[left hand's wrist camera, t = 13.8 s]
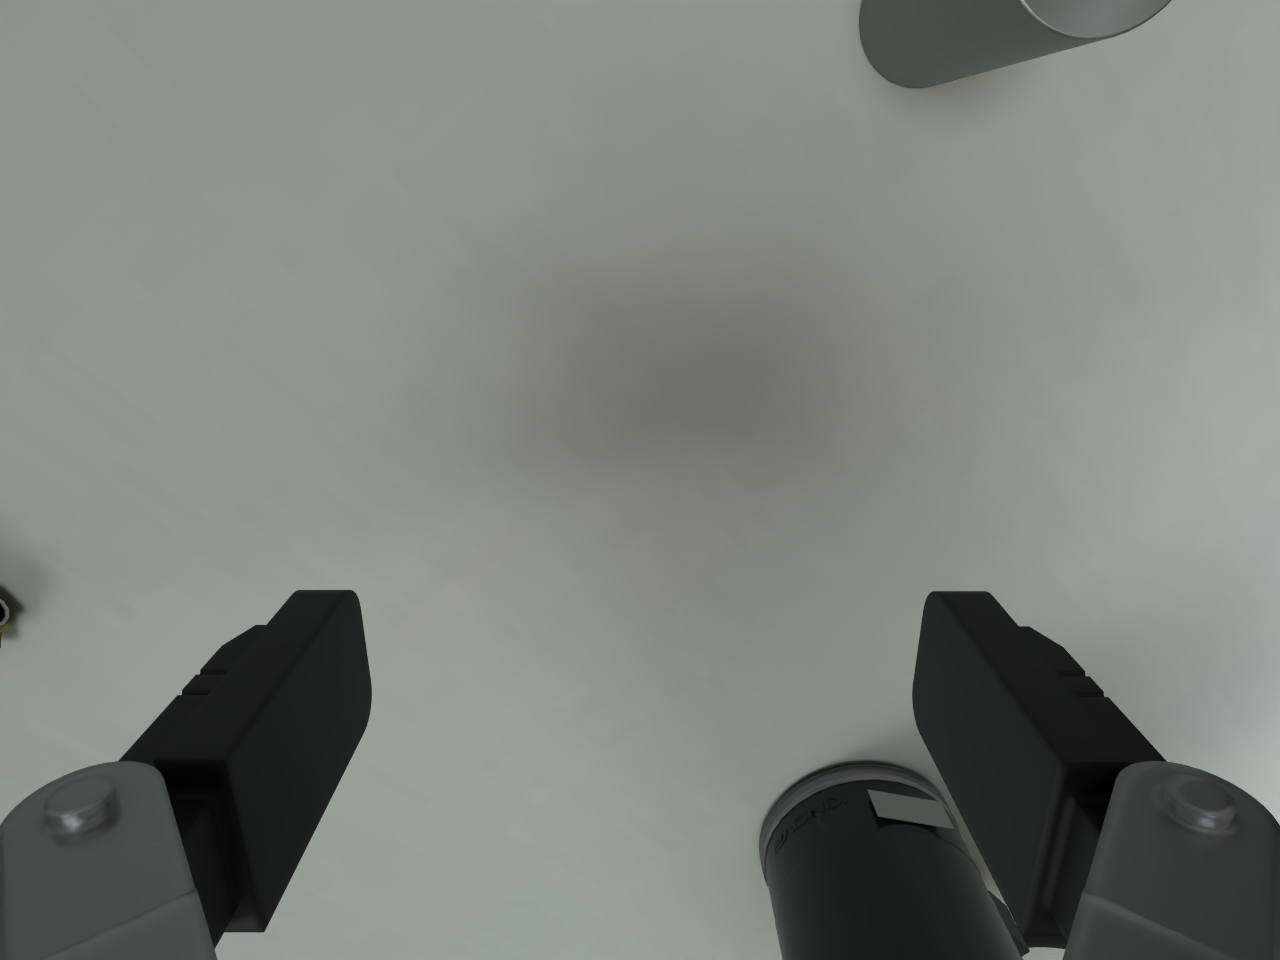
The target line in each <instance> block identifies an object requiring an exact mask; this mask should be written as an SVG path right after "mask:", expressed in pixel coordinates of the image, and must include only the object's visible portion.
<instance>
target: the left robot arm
mask: <svg viewBox="0 0 1280 960" xmlns="http://www.w3.org/2000/svg"><path fill="white" fill-rule="evenodd" d="M200 671H201V672H200V675H195V676H194V678H193V679H192V680H191V681H190V682H189V683H188V684H187V685H186V686H185V688H184V689H183V690H182V695H177V696H176V698H175V699H174V700H173V701H172V702H171V703H170V704H169V705H168V706H167V708H166V709H165V710H164V711H163V712H162V713H161V714H160V715H159V716H158V718H157V719H156V720H155V721H154V722H153V723H152V724H151V725H150V726H149V728H148V729H147V730H146V731H145V732H144V733H143V734H142V735H141V736H140V738H139V739H138V740H137V741H136V742H135V743H134V744H133V745H132V746H131V748H130V749H129V750H128V751H127V752H126V753H125V754H124V755H123V757H122V758H121V759H120V760H119V761H116V762H109V763H103V764H98V765H94V766H90V767H87V768H83V769H80V770H77V771H75V772H72V773H70V774H67V775H64V776H62V777H60V778H58V779H56V780H54V781H52V782H50V783H48V784H47V785H45V786H43V787H41V788H40V789H38V790H37V791H35V792H34V793H32V794H31V795H29V796H28V797H26V798H25V799H24V800H23V801H22V802H21V803H19V804H18V805H17V806H16V807H15V808H14V809H13V810H12V811H11V812H10V813H9V814H8V815H7V817H6V818H5V819H4V821H3V822H2V824H1V825H0V960H217V957H216V953H215V950H214V949H215V947H216V946H217V944H218V942H219V940H220V938H221V937H222V935H223V933H224V932H264V931H265V929H266V927H267V925H268V923H269V921H270V919H271V917H272V915H273V913H274V911H275V909H276V907H277V905H278V903H279V901H280V899H281V897H282V895H283V893H284V891H285V889H286V887H287V885H288V883H289V881H290V879H291V877H292V875H293V873H294V871H295V869H296V867H297V865H298V863H299V861H300V859H301V857H302V855H303V853H304V851H305V849H306V847H307V845H308V843H309V841H310V839H311V837H312V835H313V833H314V831H315V829H316V827H317V825H318V823H319V821H320V819H321V817H322V815H323V813H324V811H325V809H326V807H327V805H328V803H329V801H330V799H331V797H332V795H333V793H334V791H335V789H336V787H337V785H338V783H339V781H340V779H341V777H342V775H343V773H344V772H345V770H346V768H347V766H348V764H349V762H350V760H351V758H352V756H353V754H354V752H355V750H356V748H357V746H358V744H359V742H360V740H361V738H362V736H363V734H364V731H365V729H366V726H367V723H368V720H369V715H370V709H371V700H372V687H371V678H370V671H369V664H368V657H367V650H366V643H365V635H364V628H363V621H362V614H361V607H360V602H359V599H358V597H357V595H356V593H355V592H354V591H352V590H297V591H296V592H294V593H293V594H292V595H291V596H290V598H289V599H288V600H287V601H286V602H285V604H284V605H283V606H282V607H281V608H280V610H279V611H278V612H277V613H276V614H275V615H274V617H273V618H272V619H271V620H270V621H269V623H268V624H267V625H255V626H253V627H252V628H250V629H249V630H247V631H245V632H244V633H242V634H240V635H239V636H237V637H236V638H234V639H232V640H231V641H229V642H227V643H226V644H224V645H222V646H221V648H220V649H219V650H218V651H217V652H216V653H215V654H214V655H213V656H212V658H211V659H210V660H209V661H208V662H207V663H206V664H205V665H204V666H203V668H202V669H201V670H200ZM912 699H913V710H914V716H915V721H916V724H917V727H918V730H919V733H920V735H921V737H922V739H923V741H924V743H925V745H926V747H927V749H928V751H929V752H930V754H931V756H932V758H933V760H934V762H935V764H936V766H937V768H938V770H939V772H940V774H941V776H942V778H943V780H944V782H945V784H946V786H947V788H948V790H949V792H950V794H951V796H952V798H953V800H954V802H955V804H956V806H957V808H958V810H959V812H960V814H961V816H962V818H963V820H964V822H965V824H966V826H967V828H968V829H969V831H970V833H971V835H972V837H973V839H974V841H975V843H976V845H977V847H978V849H979V851H980V853H981V855H982V857H983V859H984V861H985V863H986V865H987V867H988V869H989V871H990V873H991V875H992V877H993V879H994V881H995V883H996V885H997V887H998V889H999V891H1000V893H1001V895H1002V897H1003V899H1004V901H1005V903H1006V905H1007V906H1008V908H1009V910H1010V912H1011V914H1012V916H1013V918H1014V920H1015V922H1016V924H1017V926H1018V927H1017V926H1016V924H1015V922H1014V920H1013V918H1012V916H1011V914H1010V912H1009V910H1008V908H1007V906H1005V905H1004V904H1003V903H1002V902H1001V901H1000V900H999V899H998V898H996V897H995V896H994V895H993V894H992V893H991V892H990V891H989V890H987V888H986V886H985V884H984V882H983V880H982V878H981V875H980V873H979V871H978V869H977V867H976V865H975V863H974V861H973V859H972V857H971V855H970V853H969V851H968V849H967V847H966V845H965V843H964V841H963V839H962V837H961V835H960V833H959V829H958V826H957V823H956V821H955V819H954V817H953V815H952V813H951V811H950V809H949V807H948V805H947V803H946V801H945V800H944V798H943V797H942V795H941V794H940V793H939V792H938V791H937V790H936V789H935V788H934V787H933V786H932V785H931V784H930V783H928V782H927V781H926V780H924V779H923V778H921V777H919V776H917V775H916V774H914V773H911V772H909V771H906V770H904V769H900V768H897V767H892V766H887V765H880V764H855V765H847V766H842V767H837V768H834V769H830V770H827V771H824V772H822V773H819V774H817V775H814V776H812V777H810V778H808V779H806V780H805V781H803V782H801V783H800V784H798V785H797V786H795V787H794V788H792V789H791V790H790V791H789V792H787V793H786V794H785V795H784V796H783V797H782V798H781V799H780V800H779V801H778V802H777V804H776V805H775V806H774V807H773V809H772V810H771V812H770V813H769V815H768V817H767V819H766V820H765V823H764V825H763V828H762V831H761V835H760V842H759V852H760V859H761V864H762V869H763V874H764V878H765V881H766V883H767V886H768V888H769V893H770V898H771V903H772V908H773V913H774V918H775V924H776V929H777V934H778V939H779V944H780V949H781V954H782V959H783V960H1023V959H1022V956H1023V955H1025V954H1027V953H1028V952H1029V949H1028V948H1030V947H1051V948H1062V949H1066V950H1065V953H1064V957H1063V960H1280V825H1279V824H1278V822H1277V821H1276V819H1275V818H1274V817H1273V815H1272V814H1271V813H1270V812H1269V811H1268V810H1267V809H1266V808H1265V807H1264V806H1263V805H1262V804H1261V803H1259V802H1258V801H1257V800H1256V799H1255V798H1254V797H1252V796H1251V795H1249V794H1248V793H1246V792H1245V791H1243V790H1242V789H1240V788H1239V787H1237V786H1235V785H1233V784H1232V783H1230V782H1228V781H1226V780H1224V779H1222V778H1220V777H1218V776H1216V775H1213V774H1210V773H1208V772H1205V771H1203V770H1200V769H1197V768H1193V767H1190V766H1186V765H1182V764H1177V763H1171V762H1167V761H1166V760H1165V759H1164V758H1163V757H1162V756H1161V755H1160V754H1159V752H1158V751H1157V750H1156V749H1155V748H1154V747H1153V746H1152V745H1151V744H1150V743H1149V741H1148V740H1147V739H1146V738H1145V737H1144V736H1143V735H1142V734H1141V733H1140V731H1139V730H1138V729H1137V728H1136V727H1135V726H1134V725H1133V724H1132V723H1131V722H1130V720H1129V719H1128V718H1127V717H1126V716H1125V715H1124V714H1123V713H1122V712H1121V711H1120V709H1119V708H1118V707H1117V706H1116V705H1115V704H1114V703H1113V702H1112V701H1111V700H1110V698H1109V697H1104V692H1103V691H1102V690H1101V689H1100V687H1099V686H1098V685H1097V684H1096V683H1095V682H1094V681H1093V680H1092V679H1091V677H1090V676H1085V671H1084V670H1083V669H1082V668H1081V666H1080V665H1079V664H1078V663H1077V662H1076V661H1075V660H1074V659H1073V658H1072V657H1071V655H1070V654H1069V653H1068V652H1067V651H1066V650H1065V649H1064V648H1063V647H1062V646H1060V645H1059V644H1057V643H1055V642H1054V641H1052V640H1050V639H1049V638H1047V637H1045V636H1044V635H1042V634H1041V633H1039V632H1037V631H1036V630H1034V629H1032V628H1031V627H1019V626H1018V625H1017V624H1016V623H1015V622H1014V620H1013V619H1012V618H1011V617H1010V616H1009V615H1008V613H1007V612H1006V611H1005V610H1004V609H1003V607H1002V606H1001V605H1000V604H999V603H998V602H997V600H996V599H995V598H994V597H993V596H992V595H991V594H990V593H989V592H986V591H933V592H931V593H930V594H929V595H928V597H927V599H926V601H925V605H924V610H923V617H922V624H921V631H920V638H919V645H918V652H917V659H916V667H915V674H914V681H913V691H912ZM1018 928H1019V929H1018ZM1019 930H1020V931H1019Z"/></svg>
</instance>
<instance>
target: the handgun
mask: <svg viewBox="0 0 1280 960" xmlns="http://www.w3.org/2000/svg"><path fill="white" fill-rule="evenodd" d="M8 619H9V608H8V607H7V605H6V604H5V602H4V601H3V600H1V599H0V648H1V634H2V631H4V630H5V629H7V628H8V627H9V626H10V625H11V623H10V621H9V620H8Z"/></svg>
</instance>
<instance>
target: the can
mask: <svg viewBox="0 0 1280 960" xmlns="http://www.w3.org/2000/svg"><path fill="white" fill-rule="evenodd" d="M1170 1H1171V0H863V1H862V4H861V10H860V23H859V26H860V36H861V41H862V45H863V48H864V51H865V53H866V55H867V57H868V59H869V61H870V62H871V64H872V65H873V67H874V68H875V69H876V70H877V71H878V72H879V73H880V74H881V75H882V76H883V77H884V78H886V79H887V80H889V81H891V82H892V83H895V84H897V85H900V86H904V87H908V88H925V87H930V86H934V85H938V84H942V83H946V82H949V81H953V80H957V79H960V78H964V77H968V76H971V75H975V74H979V73H982V72H986V71H990V70H993V69H997V68H1001V67H1005V66H1008V65H1012V64H1016V63H1019V62H1023V61H1027V60H1030V59H1034V58H1038V57H1041V56H1045V55H1049V54H1052V53H1056V52H1060V51H1064V50H1067V49H1071V48H1075V47H1078V46H1082V45H1086V44H1089V43H1093V42H1097V41H1100V40H1104V39H1108V38H1111V37H1115V36H1118V35H1120V34H1123V33H1126V32H1128V31H1130V30H1132V29H1134V28H1136V27H1138V26H1140V25H1142V24H1143V23H1145V22H1146V21H1148V20H1149V19H1151V18H1152V17H1154V16H1155V15H1156V14H1157V13H1159V12H1160V11H1161V10H1162V9H1163V8H1165V7H1166V5H1167V4H1168V3H1169V2H1170Z"/></svg>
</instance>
